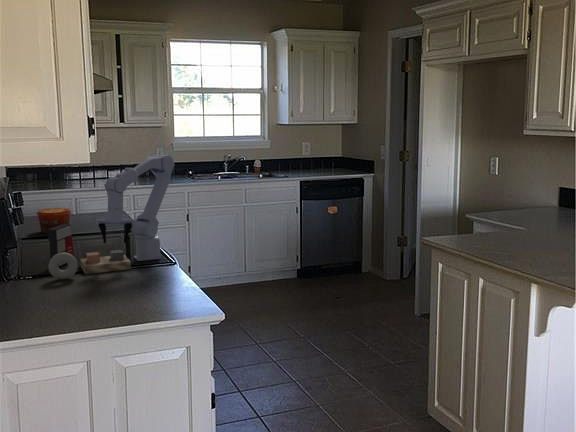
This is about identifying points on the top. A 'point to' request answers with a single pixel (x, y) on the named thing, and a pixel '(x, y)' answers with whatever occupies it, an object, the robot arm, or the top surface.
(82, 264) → the tan flat rectangular block
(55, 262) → the donut
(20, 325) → the top surface
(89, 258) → the brown cube
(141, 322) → the top surface
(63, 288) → the top surface
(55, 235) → the grey and red box
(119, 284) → the top surface
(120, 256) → the gray cube
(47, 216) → the food container
